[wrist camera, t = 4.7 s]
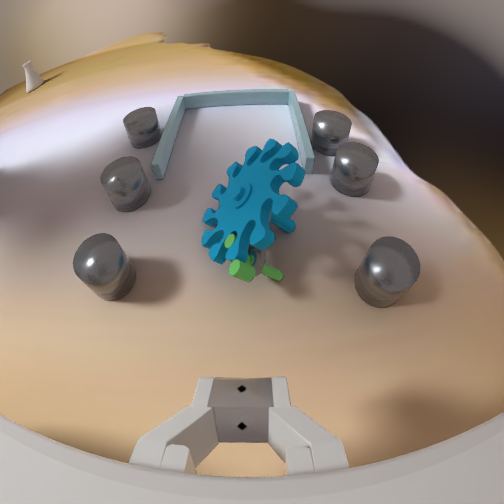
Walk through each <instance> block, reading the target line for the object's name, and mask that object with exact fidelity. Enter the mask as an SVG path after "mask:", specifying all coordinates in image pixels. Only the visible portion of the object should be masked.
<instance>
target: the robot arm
mask: <svg viewBox="0 0 504 504" xmlns="http://www.w3.org/2000/svg"><path fill="white" fill-rule="evenodd" d="M218 442H228V443H237V442H246V443H268V444H269V445H270V446H271V447H272V449H273V450H274V451H275V452H276V453H277V454H278V456H279V457H280V458H281V459H282V460H283V461H284V462H285V472H284V476H277V477H222V476H206V475H197V472H196V469H195V468H196V467H197V466H198V465H199V464H200V463H201V462H202V461H203V460H204V459H205V458H206V457H207V456H208V454H209V453H210V452H211V451H212V450H213V449H214V448H215V447H216V446H217V445H218V444H219V443H218ZM0 504H504V412H502V413H500V414H499V415H497V416H495V417H493V418H491V419H489V420H488V421H486V422H484V423H482V424H480V425H478V426H476V427H474V428H472V429H469V430H467V431H465V432H463V433H461V434H458V435H456V436H454V437H451V438H449V439H446V440H444V441H441V442H439V443H436V444H434V445H431V446H428V447H425V448H423V449H420V450H417V451H414V452H411V453H407V454H404V455H401V456H397V457H394V458H390V459H387V460H383V461H379V462H375V463H370V464H366V465H361V466H357V467H352V468H350V467H349V464H348V461H347V457H346V454H345V451H344V447H343V444H342V441H341V440H340V439H338V438H337V437H335V436H334V435H333V434H331V433H330V432H329V431H327V430H326V429H325V428H323V427H322V426H321V425H319V424H318V423H317V422H315V421H314V420H313V419H311V418H310V417H309V416H307V415H306V414H305V413H304V412H302V411H301V410H300V409H298V408H297V407H296V406H291V402H290V396H289V390H288V383H287V377H286V376H280V377H271V378H223V377H215V378H214V377H200V378H199V380H198V384H197V387H196V391H195V394H194V398H193V402H192V405H191V406H186V407H185V408H183V409H182V410H180V411H179V412H177V413H176V414H175V415H173V416H172V417H170V418H169V419H167V420H166V421H164V422H163V423H161V424H160V425H158V426H157V427H155V428H154V429H152V430H151V431H149V432H148V433H146V434H144V435H143V436H141V437H140V438H139V439H138V441H137V444H136V446H135V449H134V451H133V453H132V456H131V458H130V460H129V463H124V462H120V461H116V460H113V459H109V458H105V457H102V456H98V455H95V454H92V453H89V452H86V451H83V450H80V449H77V448H74V447H71V446H68V445H66V444H63V443H60V442H58V441H55V440H53V439H50V438H48V437H46V436H43V435H41V434H39V433H36V432H34V431H32V430H30V429H28V428H26V427H24V426H22V425H20V424H18V423H16V422H14V421H12V420H10V419H8V418H6V417H5V416H3V415H1V414H0Z"/></svg>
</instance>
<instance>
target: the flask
mask: <svg viewBox="0 0 504 504" xmlns="http://www.w3.org/2000/svg"><path fill="white" fill-rule="evenodd" d="M23 67H24V69H25V73H26V90H27V93H29V92H30V91H32V90H34V89H36V88H37V87H39V86H40V85H42V84H43V83H44V82H45V81H44V80H43V78H42V77H41V76H40V75H39V74H38V73H37V72H36V71H35V70H34V69H33V67H32V65H31V61H29V62H27V63H25V64H24V65H23Z"/></svg>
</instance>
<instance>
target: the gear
mask: <svg viewBox="0 0 504 504" xmlns="http://www.w3.org/2000/svg"><path fill="white" fill-rule="evenodd" d="M298 157H299V155H298V151H297V149H296V148H295V147H293V146H292V145H291V144H290V143H289V142H288V143H286V144H285V145H283V146H282V145H281V144H279V143H278V142H277V141H276V140H274V139H269V140H268V141H267V143H266V144H265V146H264V149H263V151H262V150H261V149H260V148H258V147H257V146H254V147H251V148H249V149H248V150H247V152H246V155H245V162H244V165H243V166H242V165H241V164H239V163H238V162H235V163H234V164H232V165H231V166H230V167H229V168H228V170H227V174H228V176H229V184H228V188H226V187H225V186H223V185H221V184H219V185H218V186H217V187H216V188H215V190H214V191H213V193H212V197H213V198H215V199H217V200H218V201H219V202H220V206H219V209H218V210H217V211H215V210H213V209H211V208H208V209H207V211H206V213H205V215H204V218H203V222H204V223H206V224H208V225H210V226H214V225H215V224H217V223H218V224H217V226H216V228H215V229H214V230H213V231H210V230H206V231H205V232H204V233H203V236H202V245H203V246H205V247H207V248H209V249H210V250H209V256H210V258H211V259H212V260H213V261H215V262H217V263H220V264H223V263H224V262H225V261H226V259H228V260H230V261H232V263H231V264H230V267H229V274H230V275H232V276H234V277H237V278H239V279H241V280H244V281H246V282H250V281H251V280H252V279H253V278H254V276H257V275H258V274H260V273H262V274H264V275H266V276H269V277H271V278H273V279H275V280H277V281H280V280H281V279H282V278H283V272H282V271H280V270H278V269H276V268H273V267H271V266H269V265H267V264H265V258H266V250H267V247H269V246H270V245H271V244H273V243H274V240H275V236H274V233H273V232H272V231H271V229H270V221H271V222H272V223H274V224H275V225H277V226H279V227H280V228H282V229H283V230H285V231H287V232H288V233H290V232H292V231H293V230H294V229H295V226H296V224H295V222H294V221H292V220H291V219H290V217H291V215H292V214H293V213H294V211H295V210H296V208H297V206H298V205H297V203H296V202H295V201H294V200H292V199H291V198H290V197H288V196H287V195H280V194H279V188H280V186H281V185H282V184H283V183H284V182H286V181H287V182H288V183H289V184H290V185H292V186H293V187H298V186H300V185H301V183H302V181H303V179H304V175H305V170H304V169H303V168H302V167H301V166H300V165H299V164H297V163H294V162H296V161H297V160H298ZM284 164H289V165H288V166H287V167H285V168H283V169H281V170H279V168H280V167H281V166H282V165H284ZM221 239H222V240H221ZM220 240H221V241H220ZM219 241H220V242H219Z"/></svg>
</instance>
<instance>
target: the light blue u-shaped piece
mask: <svg viewBox="0 0 504 504" xmlns="http://www.w3.org/2000/svg"><path fill="white" fill-rule="evenodd" d="M248 104H288V105H289V109H290V113H291V117H292V121H293V125H294V130H295V134H296V138H297V143H298V147H299V151H300V156H301V161H302V165H303V169H304V170H305V173H312V171H313V165H314V159H315V157H314V153H313V150H312V146H311V143H310V139H309V136H308V132H307V129H306V125H305V122H304V119H303V116H302V112H301V109H300V106H299V103H298V100H297V97H296V94H295V91H289V90H288V89H251V90H228V91H213V92H202V93H192V94H184V96H178V98H177V100H176V102H175V104H174V107H173V109H172V111H171V114H170V116H169V119H168V121H167V124H166V126H165V129H164V131H163V134H162V136H161V139H160V142H159V144H158V147H157V150H156V152H155V155H154V158H153V161H152V164H151V166H152V169H153V172H154V175H155V178H156V179H164V175H165V172H166V168H167V165H168V161H169V158H170V155H171V151H172V148H173V145H174V142H175V139H176V135H177V132H178V129H179V126H180V123H181V120H182V117H183V115H184V112H185V109H190V108H200V107H212V106H226V105H248Z"/></svg>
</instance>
